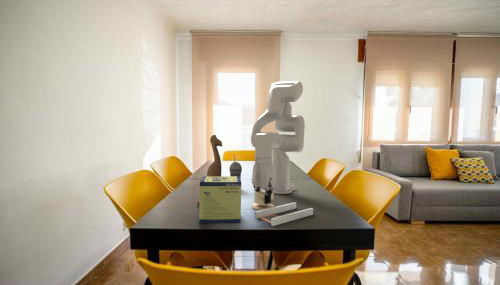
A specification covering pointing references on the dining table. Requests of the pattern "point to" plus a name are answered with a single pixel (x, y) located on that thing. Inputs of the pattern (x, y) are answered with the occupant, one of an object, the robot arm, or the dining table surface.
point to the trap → (268, 217)
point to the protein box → (220, 200)
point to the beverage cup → (235, 169)
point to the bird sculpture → (215, 167)
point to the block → (262, 197)
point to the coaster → (261, 206)
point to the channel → (284, 217)
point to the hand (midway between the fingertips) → (262, 201)
